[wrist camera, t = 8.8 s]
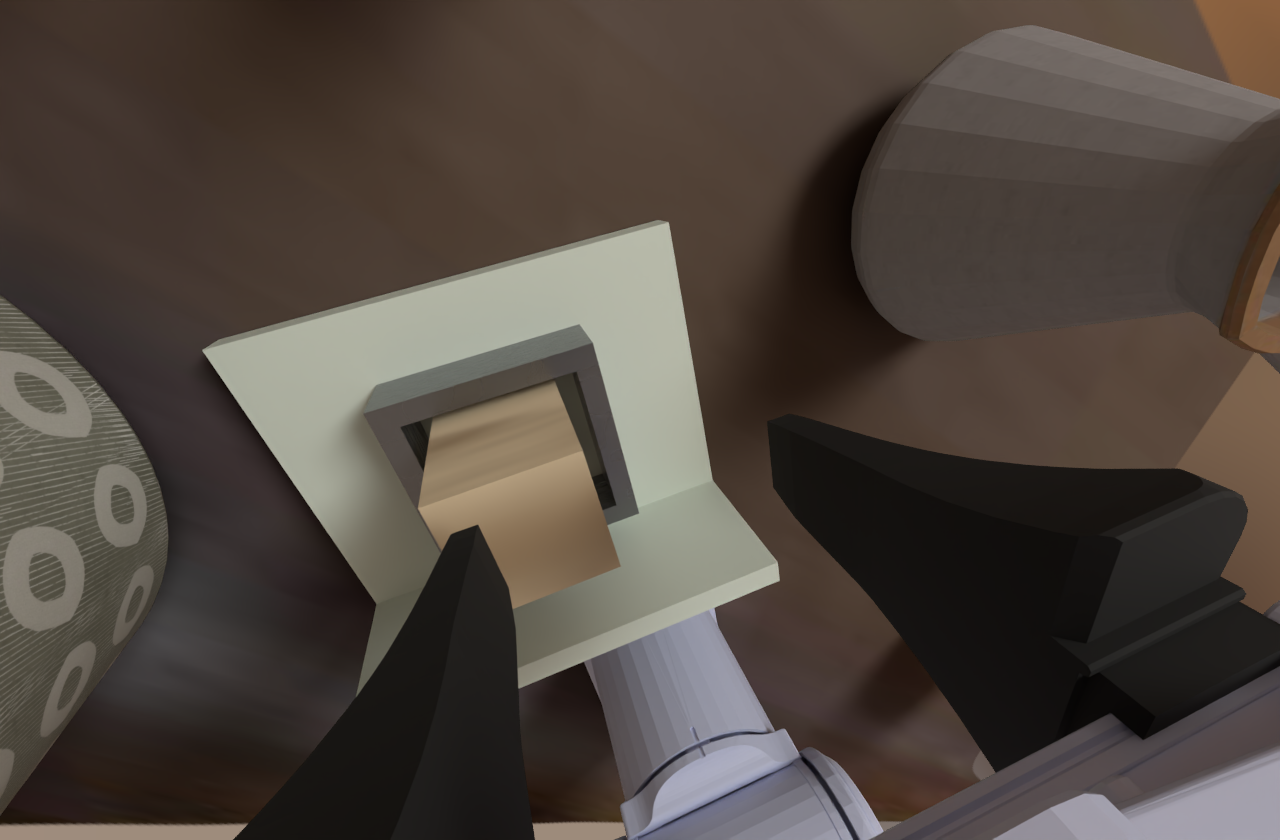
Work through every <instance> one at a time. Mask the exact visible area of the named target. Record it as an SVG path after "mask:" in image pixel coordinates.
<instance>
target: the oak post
mask: <svg viewBox="0 0 1280 840" xmlns="http://www.w3.org/2000/svg"><path fill="white" fill-rule="evenodd" d="M418 510H419V511H420V513H421V515H422V517H423V519H424V520H425V522H426V524H427V526H428V527H429V529H430V531H431V533H432V534H433V536H434V538H435V540H436V541H437V543H438V545H439V547H440V549H441V550H443V548H444V546H445V544H446V542H447V540H448V538H449V537H450V535H451V534H452V533H455V532H458V531H461V530H464V529H466V528H469V527H472V526H475V525H479V527H480V529H481V532H482V534H483V536H484V538H485V540H486V542H487V544H488V546H489V548H490V550H491V552H492V554H493V556H494V558H495V560H496V562H497V565H498V567H499V569H500V571H501V573H502V575H503V577H504V579H505V581H506V583H507V585H508V587H509V592H510V597H511V603H512V608H513V609H515V608H517V607H520V606H522V605H525V604H527V603H530V602H532V601H535V600H537V599H540V598H542V597H545V596H547V595H550V594H553V593H555V592H558V591H560V590H563V589H565V588H568V587H570V586H573V585H575V584H578V583H580V582H583V581H585V580H588V579H591V578H593V577H596V576H598V575H601V574H603V573H606V572H608V571H611V570H613V569H616V568H618V567H621V565H620V562H619V559H618V556H617V553H616V550H615V547H614V544H613V541H612V538H611V535H610V532H609V529H608V526H607V523H606V520H605V517H604V513H603V510H602V507H601V504H600V501H599V498H598V495H597V492H596V489H595V486H594V483H593V480H592V477H591V474H590V471H589V468H588V465H587V462H586V459H585V456H584V453H583V450H582V448H581V445H580V443H579V440H578V438H577V435H576V433H575V430H574V428H573V425H572V423H571V420H570V418H569V415H568V413H567V410H566V408H565V405H564V403H563V400H562V398H561V396H560V393H559V391H558V388H557V386H556V383H555V381H554V379H551V380H547V381H544V382H541V383H538V384H535V385H532V386H528V387H525V388H522V389H519V390H516V391H513V392H509V393H506V394H503V395H500V396H497V397H494V398H490V399H487V400H484V401H481V402H478V403H474V404H471V405H468V406H465V407H462V408H459V409H455V410H452V411H449V412H446V413H443V414H440V415H436V416H433V419H432V425H431V431H430V437H429V444H428V450H427V456H426V462H425V468H424V474H423V480H422V486H421V492H420V499H419V505H418Z"/></svg>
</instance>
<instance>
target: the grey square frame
mask: <svg viewBox="0 0 1280 840" xmlns="http://www.w3.org/2000/svg"><path fill="white" fill-rule="evenodd" d="M570 373H572V374H573V377H574V381H575V384H576V387H577V391H578V394H579V397H580V401H581V404H582V407H583V410H584V414H585V417H586V420H587V424H588V427H589V430H590V434H591V437H592V440H593V443H594V447H595V450H596V453H597V457H598V460H599V463H600V467H601V470H602V474H599V475H597V476H594V477H592V480H593V483H594V486H595V489H596V492H597V495H598V498H599V501H600V504H601V507H602V510H603V513H604V517H605V520H606V523H607V525H610V524H612V523H615V522H618V521H620V520H623V519H626V518H628V517H631V516H634V515H636V514H639V511H638V507H637V503H636V500H635V496H634V492H633V489H632V485H631V481H630V477H629V474H628V470H627V466H626V463H625V459H624V455H623V452H622V448H621V444H620V441H619V437H618V433H617V430H616V426H615V422H614V419H613V415H612V411H611V408H610V404H609V400H608V396H607V393H606V389H605V385H604V382H603V378H602V374H601V371H600V367H599V363H598V360H597V356H596V352H595V349H594V345H593V342H592V341H591V340H590V338H589V337H588V335H587V334H586V333H585V331H584V330H583V328H582V327H581V326H580V324H578V325H575V326H571V327H568V328H565V329H561V330H558V331H555V332H551V333H548V334H545V335H541V336H538V337H535V338H531V339H528V340H525V341H521V342H518V343H515V344H511V345H508V346H505V347H501V348H498V349H495V350H491V351H488V352H485V353H481V354H478V355H475V356H471V357H468V358H465V359H461V360H458V361H455V362H451V363H448V364H445V365H441V366H438V367H435V368H431V369H428V370H425V371H421V372H418V373H415V374H411V375H408V376H405V377H401V378H398V379H395V380H391V381H388V382H385V383H381V384H378V385H376V387H375V389H374V391H373V393H372V395H371V398H370V400H369V402H368V404H367V406H366V408H365V411H364V413H363V414H364V416H365V418H366V420H367V422H368V423H369V425H370V427H371V429H372V431H373V432H374V434H375V436H376V438H377V440H378V441H379V443H380V445H381V447H382V449H383V450H384V452H385V454H386V456H387V458H388V460H389V461H390V463H391V465H392V467H393V469H394V470H395V472H396V474H397V476H398V478H399V479H400V481H401V483H402V485H403V487H404V488H405V490H406V492H407V494H408V496H409V497H410V499H411V501H412V503H413V505H414V506H415V508H416V510H417V512H418V514H419V515H420V517H421V519H422V521H423V523H424V524H425V526H426V528H427V530H428V532H429V533H430V535H431V537H432V539H433V541H434V543H435V544H436V546H437V548H438V550H439V552H440V553H441V552H442V550H441V549H440V547H439V545H438V543H437V541H436V540H435V538H434V536H433V534H432V533H431V531H430V529H429V527H428V526H427V524H426V522H425V520H424V519H423V517H422V515H421V513H420V511H419V510H418V505H419V499H420V492H421V486H422V480H423V474H424V468H425V462H426V456H427V450H428V444H429V438H428V436H427V434H426V432H425V430H424V428H423V426H422V424H421V422H420V421H421V420H424V419H427V418H430V417H433V416H436V415H440V414H443V413H446V412H449V411H452V410H455V409H459V408H462V407H465V406H468V405H471V404H474V403H478V402H481V401H484V400H487V399H490V398H494V397H497V396H500V395H503V394H506V393H509V392H513V391H516V390H519V389H522V388H525V387H528V386H532V385H535V384H538V383H541V382H544V381H547V380H551V379H554V378H557V377H560V376H563V375H566V374H570Z"/></svg>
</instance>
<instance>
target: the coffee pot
mask: <svg viewBox="0 0 1280 840" xmlns="http://www.w3.org/2000/svg"><path fill="white" fill-rule="evenodd" d="M851 249H852V254H853V259H854V264H855V269H856V273H857V277H858V279H859V281H860V283H861V285H862V287H863V289H864V291H865V293H866V295H867V296H868V298H869V300H870V302H871V303H872V305H873V306H874V308H875V309H876V311H877V312H878V313H879V314H880V315H881V316H882V317H884V318H885V319H886V320H887V321H888V322H889V323H890V324H891V325H892V326H893V327H895V328H896V329H897V330H898V331H900V332H902V333H905V334H907V335H910V336H913V337H916V338H918V339H921V340H924V341H959V340H967V339H975V338H983V337H991V336H999V335H1007V334H1015V333H1024V332H1032V331H1040V330H1048V329H1056V328H1064V327H1072V326H1080V325H1088V324H1096V323H1105V322H1113V321H1121V320H1129V319H1137V318H1145V317H1153V316H1161V315H1169V314H1178V313H1186V312H1195V313H1198V314H1200V315H1203V316H1205V317H1206V318H1207V319H1209V320H1210V321H1211V322H1212V323H1213V324H1215V325H1216V326H1217V327H1218V328H1219V333H1220V335H1221V336H1222V337H1224V338H1225V339H1227V340H1229V341H1230V342H1232V343H1233V344H1235V345H1237V346H1239V347H1240V348H1242V349H1246V350H1249V351H1252V352H1256V353H1259V354H1260V355H1261V356H1263V357H1264V358H1265V359H1266V360H1267V361H1268V362H1269V363H1270V364H1271V365H1272V366H1273V367H1274V368H1275V369H1276V370H1277V371H1278V372H1279V373H1280V99H1278V98H1274V97H1271V96H1268V95H1265V94H1261V93H1258V92H1255V91H1252V90H1248V89H1245V88H1242V87H1239V86H1235V85H1232V84H1229V83H1225V82H1222V81H1219V80H1216V79H1212V78H1209V77H1206V76H1203V75H1199V74H1196V73H1193V72H1189V71H1186V70H1183V69H1180V68H1176V67H1173V66H1170V65H1167V64H1163V63H1160V62H1157V61H1153V60H1150V59H1147V58H1144V57H1140V56H1137V55H1134V54H1131V53H1127V52H1124V51H1121V50H1117V49H1114V48H1111V47H1108V46H1104V45H1101V44H1098V43H1095V42H1091V41H1088V40H1085V39H1081V38H1078V37H1075V36H1072V35H1068V34H1065V33H1062V32H1058V31H1054V30H1050V29H1046V28H1042V27H1038V26H1035V25H1026V26H1021V27H1015V28H1009V29H1003V30H998V31H992V32H990V33H988V34H986V35H984V36H983V37H981V38H979V39H977V40H975V41H973V42H972V43H970V44H968V45H966V46H964V47H963V48H961V49H959V50H957V51H955V52H953V53H952V54H950V55H948V56H947V57H946V58H945V59H944V60H943V61H942V62H941V63H940V64H939V65H938V66H936V67H935V68H934V69H933V70H932V71H931V72H930V73H929V74H928V75H927V76H926V77H925V78H924V79H922V80H921V81H920V82H919V83H918V84H917V85H916V86H915V87H914V88H913V89H912V90H911V91H910V92H909V93H908V94H906V95H905V96H904V97H903V99H902V100H901V102H900V103H899V104H898V106H897V107H896V109H895V110H894V112H893V113H892V114H891V116H890V117H889V119H888V120H887V122H886V123H885V124H884V126H883V127H882V129H881V130H880V132H879V133H878V136H877V138H876V140H875V142H874V145H873V147H872V149H871V151H870V153H869V156H868V158H867V160H866V162H865V165H864V167H863V169H862V171H861V176H860V180H859V184H858V188H857V192H856V196H855V201H854V205H853V209H852V231H851Z"/></svg>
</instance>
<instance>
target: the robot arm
mask: <svg viewBox="0 0 1280 840" xmlns="http://www.w3.org/2000/svg"><path fill="white" fill-rule="evenodd" d="M767 426H768V436H769V446H770V457H771V467H772V477H773V487H774V489H775V490H776V492H777V493H778V495H779V496H780V497H781V499H782V500H783V502H784V503H785V505H786V506H787V507H788V509H789V510H790V511H791V513H792V514H793V515H794V517H795V518H796V519H797V520H798V521H799V522H800V523H801V524H802V526H803V527H804V528H805V529H806V530H807V531H808V532H809V533H810V534H811V535H812V536H813V537H814V538H815V539H816V540H817V541H818V542H819V543H820V544H821V546H822V547H823V548H824V549H825V550H826V551H827V552H828V553H829V554H830V555H831V556H832V557H833V558H834V559H835V560H836V561H837V562H838V563H839V564H840V565H841V566H842V567H843V568H844V569H845V570H846V571H847V572H848V573H849V574H850V576H851V577H852V578H853V579H854V580H855V581H856V582H857V583H858V584H859V585H860V586H861V587H862V588H863V590H864V591H865V592H866V593H867V594H868V595H869V596H870V597H871V599H872V600H873V601H874V602H875V604H876V605H877V606H878V608H879V609H880V610H881V611H882V613H883V614H884V615H885V616H886V618H887V619H888V620H889V622H890V623H891V624H892V625H893V627H894V628H895V629H896V630H897V632H898V633H899V634H900V636H901V637H902V638H903V640H904V641H905V642H906V644H907V645H908V646H909V648H910V649H911V650H912V652H913V653H914V654H915V656H916V657H917V659H918V660H919V661H920V663H921V664H922V665H923V667H924V668H925V669H926V671H927V672H928V673H929V675H930V676H931V678H932V679H933V681H934V682H935V683H936V685H937V686H938V688H939V689H940V691H941V692H942V693H943V695H944V696H945V698H946V699H947V700H948V702H949V703H950V705H951V706H952V708H953V709H954V710H955V712H956V713H957V715H958V716H959V718H960V719H961V721H962V722H963V724H964V725H965V727H966V728H967V730H968V731H969V733H970V734H971V736H972V737H973V739H974V740H975V742H976V743H977V745H978V746H979V748H980V749H981V751H982V752H983V754H984V755H985V756H986V758H987V760H988V761H989V763H990V764H991V766H992V767H993V769H994V771H995V772H996V773H995V774H993V775H991V776H989V777H987V778H986V779H984V780H982V781H980V782H978V783H976V784H974V785H972V786H970V787H968V788H966V789H964V790H962V791H961V792H959V793H957V794H955V795H953V796H951V797H949V798H947V799H945V800H943V801H941V802H940V803H938V804H936V805H934V806H932V807H930V808H928V809H926V810H924V811H922V812H920V813H919V814H917V815H915V816H913V817H911V818H909V819H907V820H905V821H903V822H901V823H899V824H898V825H896V826H894V827H892V828H890V829H888V830H886V831H883V829H882V828H881V826H880V824H879V822H878V820H877V819H876V817H875V815H874V814H873V812H872V810H871V808H870V807H869V805H868V804H867V802H866V800H865V799H864V797H863V796H862V794H861V793H860V791H859V790H858V788H857V787H856V785H855V784H854V783H853V781H852V780H851V779H850V777H849V776H848V775H847V773H846V772H845V771H844V770H843V769H842V768H841V767H840V765H839V764H838V763H836V762H835V761H834V760H833V759H831V758H829V757H827V756H825V755H823V754H821V753H820V752H819V751H818V750H816V749H814V748H812V747H807V748H805V749H803V750H802V751H800V752H798V751H797V749H796V747H795V746H794V744H793V742H792V740H791V739H790V737H789V735H788V733H787V732H786V730H785V729H780V730H778V731H775V730H774V728H773V727H772V725H771V723H770V721H769V719H768V717H767V716H766V714H765V712H764V710H763V708H762V706H761V705H760V703H759V701H758V699H757V697H756V695H755V694H754V692H753V690H752V688H751V686H750V684H749V683H748V681H747V679H746V677H745V675H744V673H743V672H742V670H741V668H740V666H739V664H738V662H737V661H736V659H735V657H734V655H733V653H732V651H731V650H730V648H729V646H728V644H727V642H726V640H725V639H724V637H723V635H722V633H721V631H720V629H719V628H718V624H717V619H716V614H715V609H714V608H712V609H710V610H707V611H705V612H702V613H700V614H698V615H695V616H693V617H690V618H688V619H685V620H683V621H681V622H678V623H676V624H673V625H671V626H669V627H666V628H664V629H661V630H659V631H657V632H654V633H652V634H649V635H647V636H644V637H642V638H640V639H637V640H635V641H632V642H630V643H628V644H625V645H623V646H620V647H618V648H615V649H613V650H611V651H608V652H606V653H603V654H601V655H599V656H596V657H594V658H591V659H589V660H586V661H584V663H585V666H586V668H587V670H588V673H589V675H590V677H591V680H592V682H593V684H594V687H595V689H596V692H597V694H598V696H599V699H600V701H601V703H602V707H603V711H604V715H605V719H606V723H607V727H608V732H609V736H610V740H611V744H612V748H613V752H614V756H615V760H616V764H617V768H618V772H619V776H620V780H621V784H622V789H623V793H624V797H625V801H626V802H624V803H622V804H621V805H620V810H621V814H622V818H623V823H624V826H625V831H626V835H627V837H626V836H622V837H620V838H618V839H615V840H1280V600H1279V601H1278V602H1277V603H1275V604H1273V605H1272V606H1271V607H1270V608H1269V609H1268V610H1267V611H1266V612H1265V613H1264V614H1263V615H1262V614H1261V613H1259V612H1257V611H1255V610H1253V609H1252V608H1250V607H1248V606H1246V605H1244V604H1243V603H1241V602H1239V601H1241V600H1243V599H1244V597H1245V595H1246V593H1245V591H1244V590H1243V588H1241V587H1239V586H1237V585H1235V584H1233V583H1232V582H1230V581H1228V580H1226V579H1224V578H1222V577H1220V576H1221V573H1222V572H1223V570H1224V568H1225V566H1226V564H1227V562H1228V560H1229V558H1230V556H1231V554H1232V552H1233V550H1234V548H1235V546H1236V544H1237V542H1238V541H1239V538H1240V536H1241V534H1242V531H1243V529H1244V527H1245V524H1246V521H1247V513H1248V509H1247V506H1246V504H1245V501H1244V499H1243V496H1242V495H1240V494H1238V493H1237V492H1235V491H1233V490H1230V489H1227V488H1225V487H1223V486H1221V485H1218V484H1216V483H1214V482H1211V481H1209V480H1206V479H1204V478H1201V477H1199V476H1197V475H1194V474H1192V473H1190V472H1187V471H1184V470H1181V469H1089V468H1066V467H1048V466H1034V465H1023V464H1013V463H1004V462H994V461H986V460H979V459H972V458H965V457H960V456H954V455H948V454H942V453H936V452H931V451H926V450H922V449H917V448H913V447H909V446H904V445H900V444H896V443H892V442H888V441H884V440H880V439H877V438H873V437H869V436H866V435H862V434H859V433H855V432H852V431H849V430H845V429H842V428H839V427H835V426H832V425H829V424H825V423H822V422H819V421H815V420H812V419H808V418H805V417H801V416H797V415H792V414H787V415H785V416H782V417H779V418H776V419H773V420H770V421H768V422H767ZM233 840H535V838H534V831H533V824H532V818H531V811H530V805H529V798H528V791H527V784H526V777H525V769H524V762H523V755H522V746H521V734H520V717H519V692H518V666H517V643H516V627H515V621H514V614H513V608H512V603H511V597H510V592H509V587H508V585H507V583H506V581H505V579H504V577H503V575H502V573H501V571H500V569H499V567H498V565H497V562H496V560H495V558H494V556H493V554H492V552H491V550H490V548H489V546H488V544H487V542H486V540H485V538H484V536H483V534H482V532H481V529H480V527H479V525H475V526H472V527H469V528H466V529H464V530H461V531H458V532H455V533H452V534H451V535H450V537H449V538H448V540H447V542H446V544H445V546H444V548H443V550H442V552H441V554H440V556H439V558H438V560H437V562H436V564H435V566H434V568H433V570H432V572H431V574H430V576H429V578H428V580H427V582H426V584H425V586H424V588H423V590H422V592H421V594H420V596H419V598H418V599H417V601H416V603H415V605H414V607H413V609H412V611H411V612H410V614H409V616H408V618H407V620H406V621H405V623H404V625H403V626H402V628H401V630H400V631H399V633H398V635H397V636H396V638H395V640H394V642H393V643H392V645H391V647H390V648H389V650H388V651H387V653H386V655H385V656H384V658H383V659H382V661H381V662H380V664H379V665H378V667H377V668H376V670H375V671H374V673H373V674H372V675H371V677H370V678H369V680H368V681H367V683H366V684H365V685H364V687H363V688H362V690H361V691H360V692H359V694H358V695H357V697H356V698H355V699H354V701H353V702H352V703H351V705H350V706H349V707H348V709H347V710H346V711H345V712H344V714H343V715H342V716H341V717H340V719H339V720H338V721H337V722H336V724H335V725H334V726H333V727H332V729H331V730H330V731H329V732H328V734H327V735H326V736H325V737H324V739H323V740H322V741H321V742H320V744H319V745H318V746H317V747H316V749H315V750H314V751H313V752H312V754H311V755H310V756H309V757H308V758H307V759H306V761H305V762H304V763H303V764H302V765H301V766H300V768H299V769H298V770H297V771H296V772H295V773H294V774H293V776H292V777H291V778H290V779H289V780H288V781H287V782H286V784H285V785H284V786H283V787H282V788H281V789H280V790H279V791H278V792H277V794H276V795H275V796H274V797H273V798H272V799H271V800H270V801H269V802H268V803H267V804H266V806H265V807H264V808H263V809H262V810H261V811H260V812H259V813H258V814H257V815H256V816H255V817H254V819H253V820H252V821H251V822H250V823H249V824H248V825H247V826H246V827H245V828H244V829H243V830H242V831H241V832H240V833H239V834H238V835H237V837H235V838H234V839H233Z"/></svg>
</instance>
